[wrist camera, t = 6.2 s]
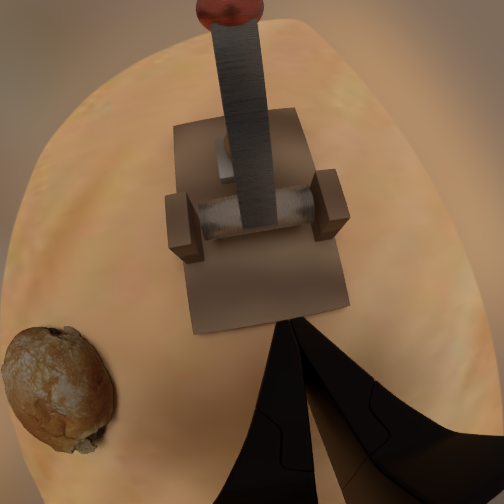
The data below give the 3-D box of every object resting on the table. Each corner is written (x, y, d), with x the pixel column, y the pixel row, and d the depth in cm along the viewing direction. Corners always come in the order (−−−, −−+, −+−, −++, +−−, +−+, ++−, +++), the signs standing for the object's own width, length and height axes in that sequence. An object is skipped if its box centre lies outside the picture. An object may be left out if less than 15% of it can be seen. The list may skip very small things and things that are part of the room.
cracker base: (343, 307, 19) (374, 299, 13) (198, 333, 18) (176, 337, 13) (292, 118, 23) (299, 72, 17) (177, 136, 22) (160, 93, 17)
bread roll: (132, 348, 22) (84, 300, 16) (130, 465, 15) (66, 462, 9) (49, 345, 22) (-3, 304, 15) (39, 443, 15) (-25, 423, 9)
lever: (319, 240, 15) (306, -29, 6) (206, 259, 15) (147, -13, 6) (292, 189, 20) (274, -4, 11) (206, 203, 19) (169, 10, 11)
